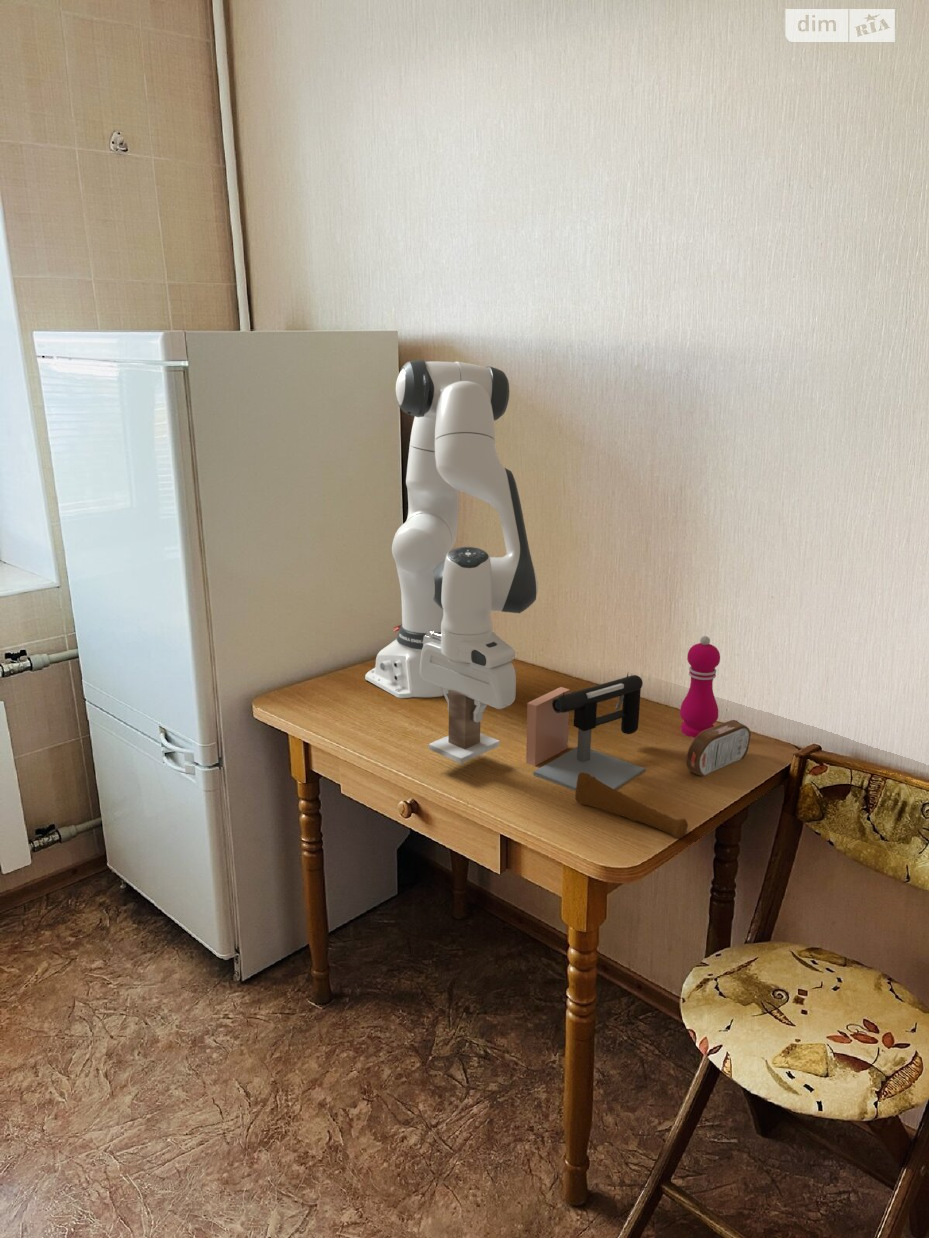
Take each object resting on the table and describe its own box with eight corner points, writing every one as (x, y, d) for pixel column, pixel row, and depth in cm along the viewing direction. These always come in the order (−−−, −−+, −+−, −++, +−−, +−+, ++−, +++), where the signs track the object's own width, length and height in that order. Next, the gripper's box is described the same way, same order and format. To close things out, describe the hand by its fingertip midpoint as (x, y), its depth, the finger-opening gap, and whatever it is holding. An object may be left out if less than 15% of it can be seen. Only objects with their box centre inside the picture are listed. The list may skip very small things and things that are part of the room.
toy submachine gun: (548, 772, 165) (551, 689, 160) (630, 745, 176) (635, 665, 171) (560, 780, 162) (564, 695, 157) (642, 751, 173) (648, 671, 168)
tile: (525, 763, 167) (526, 702, 164) (558, 745, 174) (560, 686, 171) (534, 767, 166) (536, 705, 162) (567, 748, 173) (569, 689, 169)
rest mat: (533, 776, 163) (533, 771, 162) (579, 750, 173) (579, 745, 172) (600, 802, 154) (600, 797, 153) (644, 773, 164) (644, 768, 163)
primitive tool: (576, 799, 153) (566, 807, 150) (579, 769, 151) (570, 777, 148) (687, 837, 143) (680, 846, 141) (692, 805, 142) (685, 814, 139)
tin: (737, 755, 170) (741, 713, 168) (751, 761, 168) (755, 718, 165) (683, 778, 162) (686, 734, 159) (697, 785, 160) (700, 741, 157)
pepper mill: (705, 745, 174) (714, 645, 168) (671, 734, 179) (678, 637, 173) (723, 732, 179) (732, 635, 173) (689, 722, 184) (696, 627, 178)
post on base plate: (428, 748, 165) (428, 692, 161) (467, 732, 172) (468, 677, 168) (461, 763, 160) (462, 705, 156) (499, 745, 166) (501, 689, 163)
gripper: (411, 632, 164) (411, 704, 168) (497, 662, 151) (495, 739, 155) (436, 624, 168) (436, 694, 173) (522, 652, 155) (519, 728, 159)
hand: (464, 716), depth 164 cm, fingers closed on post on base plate, 4 cm apart
